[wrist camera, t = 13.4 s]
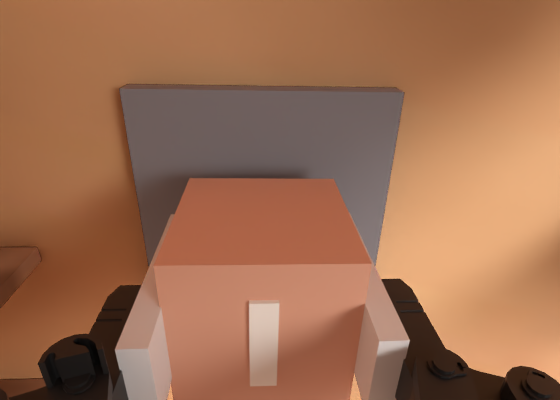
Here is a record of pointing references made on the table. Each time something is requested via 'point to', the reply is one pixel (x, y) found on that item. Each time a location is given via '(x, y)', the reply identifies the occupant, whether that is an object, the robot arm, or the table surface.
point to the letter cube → (262, 290)
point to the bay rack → (3, 283)
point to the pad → (261, 143)
